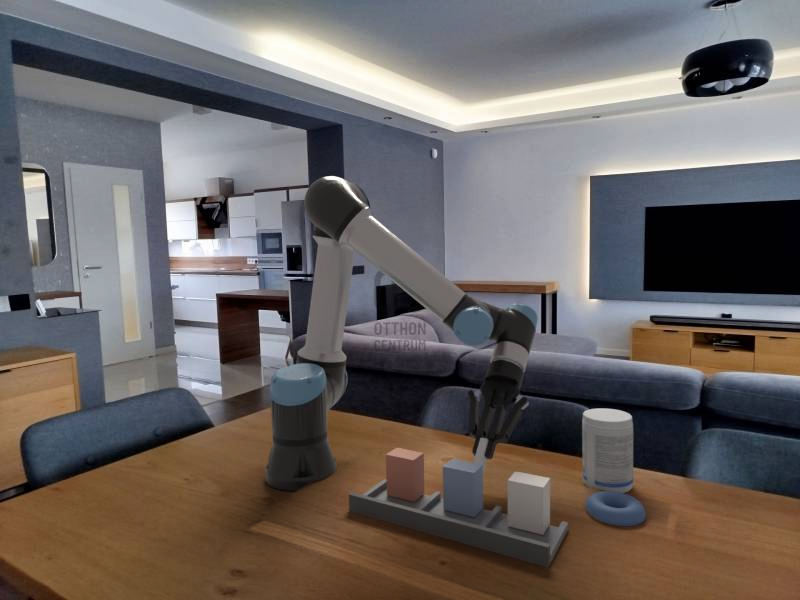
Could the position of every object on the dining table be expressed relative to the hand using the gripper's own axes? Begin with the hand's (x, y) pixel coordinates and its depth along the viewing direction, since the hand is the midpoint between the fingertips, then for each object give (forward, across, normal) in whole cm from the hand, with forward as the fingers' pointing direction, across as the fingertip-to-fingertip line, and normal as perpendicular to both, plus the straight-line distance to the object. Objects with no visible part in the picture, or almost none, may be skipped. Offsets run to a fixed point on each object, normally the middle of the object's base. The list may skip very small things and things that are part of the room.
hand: (477, 472), depth 101 cm
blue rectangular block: (+8, 0, +1) cm, 8 cm away
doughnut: (+1, -24, -8) cm, 25 cm away
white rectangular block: (+8, -12, +1) cm, 14 cm away
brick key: (+8, +12, +1) cm, 14 cm away
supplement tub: (-9, -20, -18) cm, 29 cm away
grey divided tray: (+12, 0, +3) cm, 12 cm away
